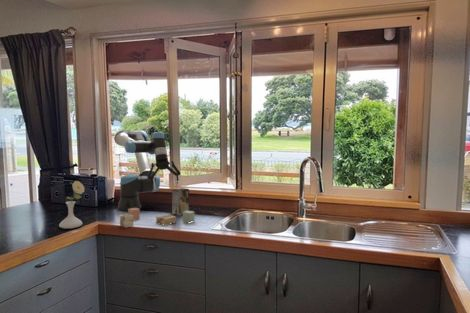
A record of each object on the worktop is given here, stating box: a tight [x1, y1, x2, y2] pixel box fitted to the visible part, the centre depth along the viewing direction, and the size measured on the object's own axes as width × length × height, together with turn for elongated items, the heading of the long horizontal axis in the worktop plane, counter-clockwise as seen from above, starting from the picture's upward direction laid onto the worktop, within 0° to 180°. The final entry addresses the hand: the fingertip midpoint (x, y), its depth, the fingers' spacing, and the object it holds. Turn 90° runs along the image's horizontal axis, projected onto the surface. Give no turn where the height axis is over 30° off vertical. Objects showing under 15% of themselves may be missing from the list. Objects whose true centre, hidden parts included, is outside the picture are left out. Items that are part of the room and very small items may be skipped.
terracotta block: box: [127, 208, 141, 221], centre depth 195 cm, size 5×5×6 cm
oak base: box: [155, 213, 177, 226], centre depth 187 cm, size 8×8×4 cm
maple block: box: [119, 213, 134, 228], centre depth 179 cm, size 5×5×6 cm
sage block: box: [182, 210, 195, 222], centre depth 190 cm, size 5×5×6 cm
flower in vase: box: [58, 180, 86, 230], centre depth 174 cm, size 13×11×25 cm
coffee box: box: [171, 187, 190, 216], centre depth 209 cm, size 9×6×16 cm
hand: (166, 187), depth 200 cm, fingers open, 13 cm apart
